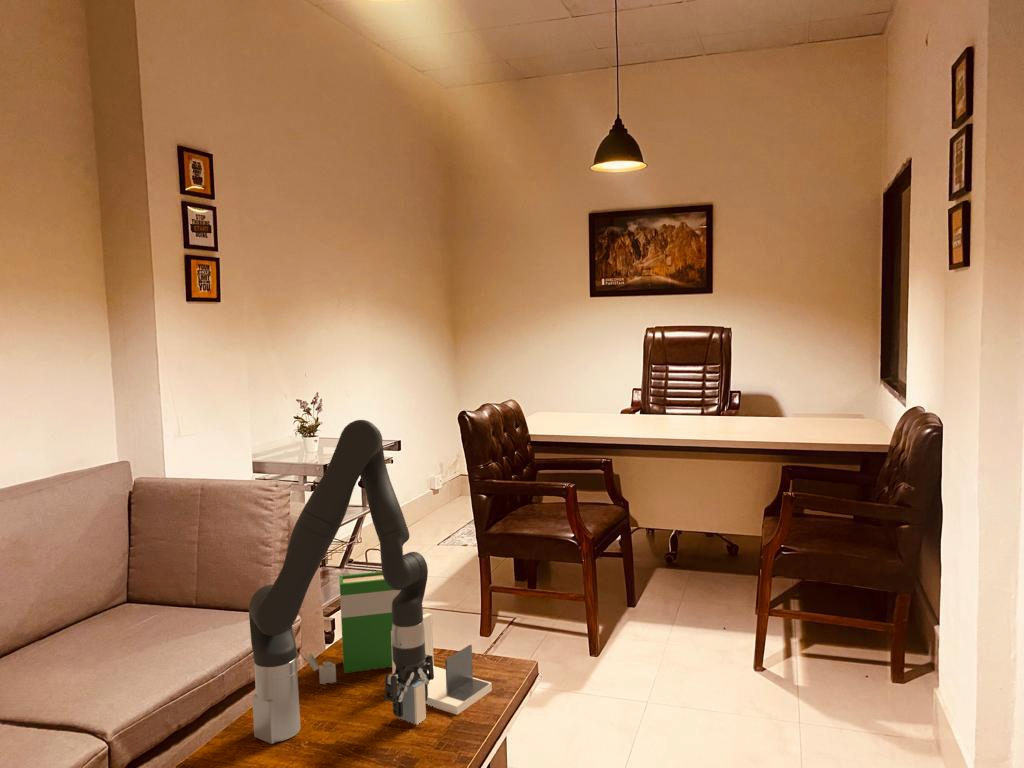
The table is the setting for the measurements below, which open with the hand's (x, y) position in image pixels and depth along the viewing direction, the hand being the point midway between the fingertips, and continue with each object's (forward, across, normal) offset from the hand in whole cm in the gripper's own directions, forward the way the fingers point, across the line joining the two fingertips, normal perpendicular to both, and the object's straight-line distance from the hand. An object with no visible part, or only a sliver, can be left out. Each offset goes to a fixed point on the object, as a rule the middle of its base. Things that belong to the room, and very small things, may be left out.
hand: (411, 708), depth 184 cm
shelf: (+3, +14, +2) cm, 14 cm away
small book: (+3, 0, 0) cm, 3 cm away
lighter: (+3, +2, +32) cm, 32 cm away
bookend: (+1, +15, -5) cm, 16 cm away
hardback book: (+3, +18, +28) cm, 33 cm away
